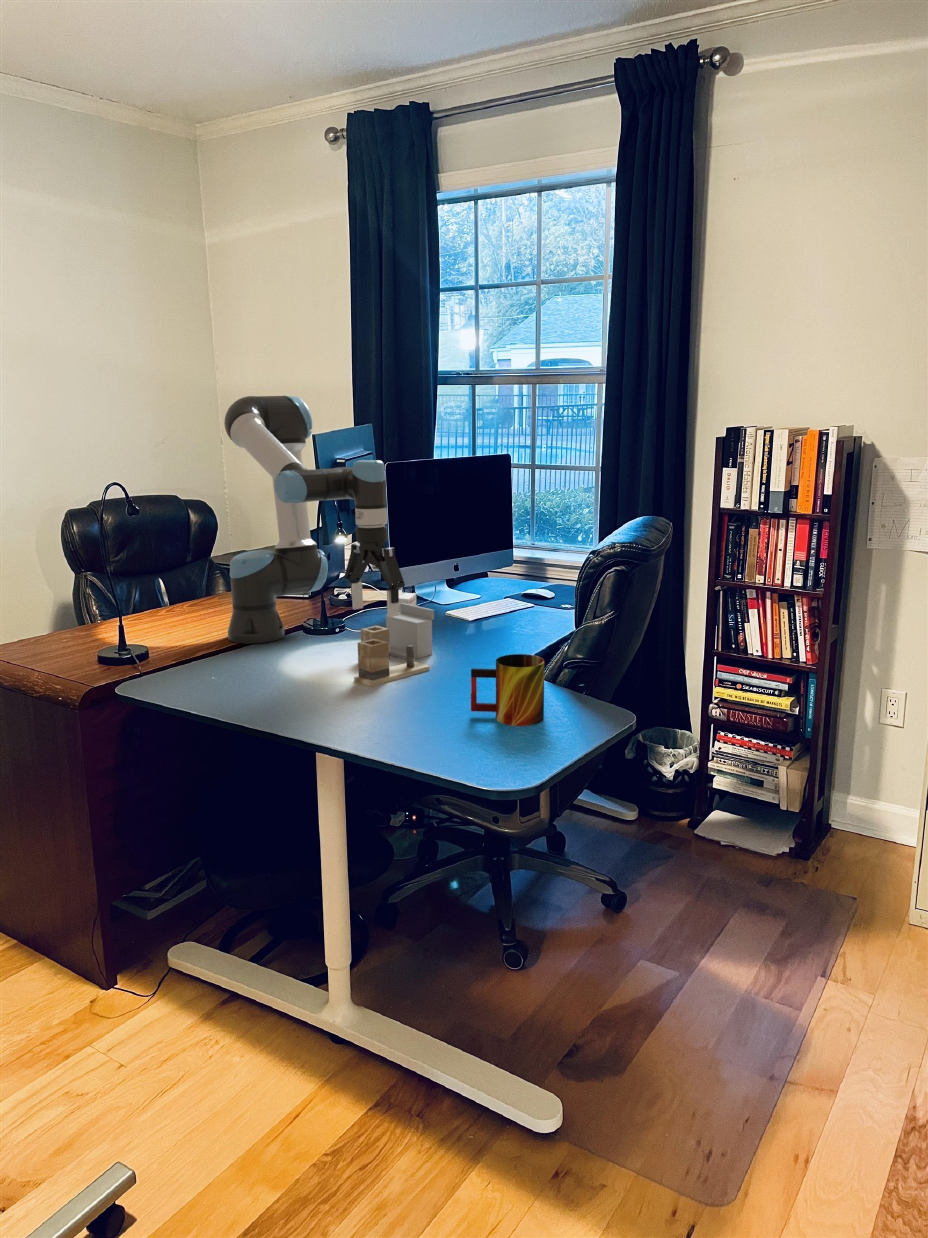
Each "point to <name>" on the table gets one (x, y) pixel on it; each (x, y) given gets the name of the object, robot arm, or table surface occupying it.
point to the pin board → (398, 670)
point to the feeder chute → (411, 631)
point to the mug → (514, 689)
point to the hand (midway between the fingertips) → (375, 612)
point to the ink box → (406, 599)
